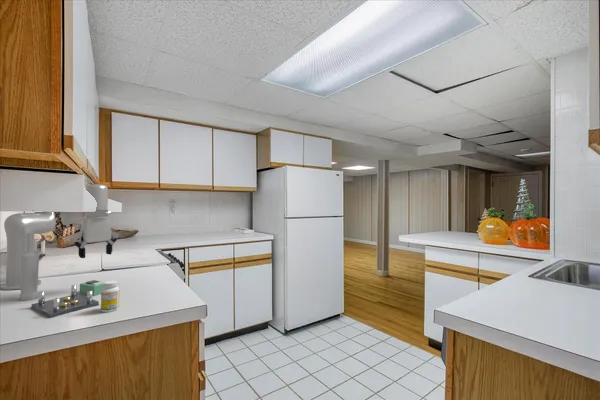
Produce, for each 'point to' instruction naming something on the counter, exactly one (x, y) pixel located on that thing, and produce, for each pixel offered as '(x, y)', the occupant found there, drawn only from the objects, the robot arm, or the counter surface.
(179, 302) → the counter surface
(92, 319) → the counter surface
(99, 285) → the green rectangular module
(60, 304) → the chassis
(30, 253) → the bottle
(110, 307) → the supplement bottle
